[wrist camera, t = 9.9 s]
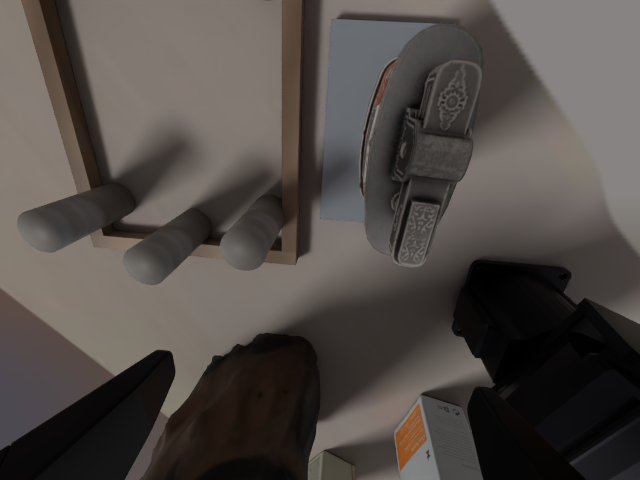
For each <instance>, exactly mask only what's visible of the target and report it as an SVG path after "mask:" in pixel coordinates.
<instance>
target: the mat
mask: <svg viewBox="0 0 640 480" xmlns="http://www.w3.org/2000/svg"><path fill="white" fill-rule="evenodd" d="M433 25H435V24H433V23H411V22H388V21H366V20H344V19H331V35H330V52H329V70H328V87H327V104H326V122H325V139H324V156H323V174H322V191H321V208H320V219H330V220H342V221H354V222H365V204H364V199H363V197H362V196H361V193H360V188H359V153H360V143H361V134H362V129H363V125H364V121H365V117H366V112H367V108H368V104H369V101H370V98H371V95H372V93H373V90H374V87H375V84H376V81H377V79H378V76H379V73H380V72H381V70H382V68H383V67H384V66H385V65H386V64H387V63H388V62H389V61H390V60H392V59H394V58H396V57H398V56H399V54H400V53H401V51H402V49H403V47H404V46H405V44H406V43H407V42H408V41H409V40H410V39H412V38H413V37H414V36H415V35H416V34H417V33H419V32H420V31H421V30H423V29H425V28H428V27H430V26H433Z"/></svg>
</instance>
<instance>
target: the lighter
mask: <svg viewBox="0 0 640 480" xmlns="http://www.w3.org/2000/svg"><path fill="white" fill-rule="evenodd" d="M482 69H483V51H482V48H481V46H480V44H479V42H478V40H477V38H476V37H475V36H474V35H473V34H472V33H471V32H470V31H468V30H467V29H466V28H464V27H461V26H458V25H455V24H452V23H448V24H435V25H433V26H430V27H428V28H425V29H423V30H421V31H420V32H419V33H417V34H416V35H415V36H414V37H413V38H412V39H410V40H409V41H408V42H407V43H406V44H405V46H404V47H403V49H402V51H401V53H400V54H399V56H398V57H396V58H394V59H392V60H390V61H389V62H388V63H387V64H386V65H385V66H384V67H383V68H382V70H381V72H380V73H379V76H378V79H377V81H376V84H375V87H374V90H373V93H372V95H371V98H370V101H369V104H368V108H367V112H366V117H365V121H364V125H363V129H362V134H361V143H360V153H359V188H360V193H361V196H362V197H363V199H364V204H365V231H366V235H367V239H368V241H369V242H370V244H371V245H372V246H373V248H375V249H376V250H378V251H379V252H381V253H383V254H387V255H390V256H392V259H393V262H394V263H396V264H397V265H400V266H404V267H419V266H421V265H422V264H423V263H425V261H426V259H427V257H428V254H429V250H430V247H431V244H432V241H433V238H434V234H435V231H436V228H437V225H438V224H439V222H440V220H441V218H442V216H443V214H444V212H445V210H446V209H447V207H448V204H449V202H450V199H451V197H452V194H453V192H454V189H455V187H456V184H457V182H459V181H460V180H461V179H462V178H463V177H464V175H465V173H466V171H467V168H468V165H469V162H470V159H471V156H472V150H473V141H472V138H471V136H472V131H473V127H474V123H475V119H476V114H477V107H478V99H479V92H480V86H481V81H482Z"/></svg>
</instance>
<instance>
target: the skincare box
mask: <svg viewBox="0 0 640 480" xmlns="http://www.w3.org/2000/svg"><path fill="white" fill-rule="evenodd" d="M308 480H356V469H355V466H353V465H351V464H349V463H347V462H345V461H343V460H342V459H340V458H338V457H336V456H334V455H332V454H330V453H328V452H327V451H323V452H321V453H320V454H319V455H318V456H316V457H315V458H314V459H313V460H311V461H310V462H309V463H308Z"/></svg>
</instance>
